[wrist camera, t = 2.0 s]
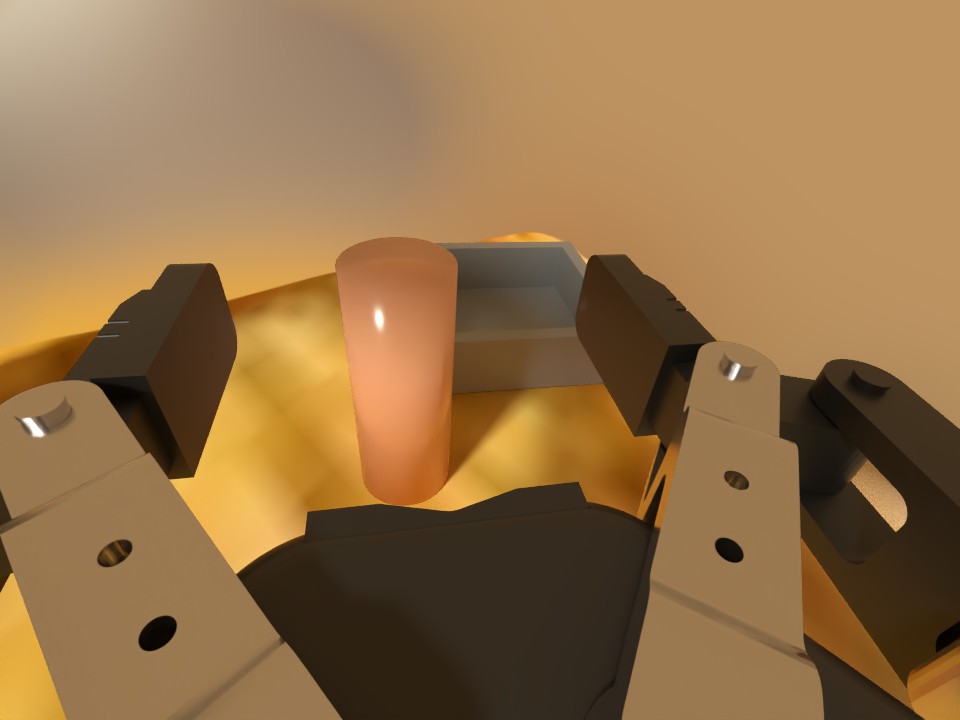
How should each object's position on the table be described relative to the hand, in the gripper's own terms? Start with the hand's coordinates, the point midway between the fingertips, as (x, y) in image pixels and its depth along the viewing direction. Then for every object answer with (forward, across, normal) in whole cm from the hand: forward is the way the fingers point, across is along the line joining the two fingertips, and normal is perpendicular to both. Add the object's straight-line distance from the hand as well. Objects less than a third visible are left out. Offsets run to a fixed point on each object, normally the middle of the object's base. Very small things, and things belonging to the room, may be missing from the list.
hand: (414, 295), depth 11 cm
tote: (+26, -10, +20) cm, 34 cm away
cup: (+11, 0, +20) cm, 23 cm away
